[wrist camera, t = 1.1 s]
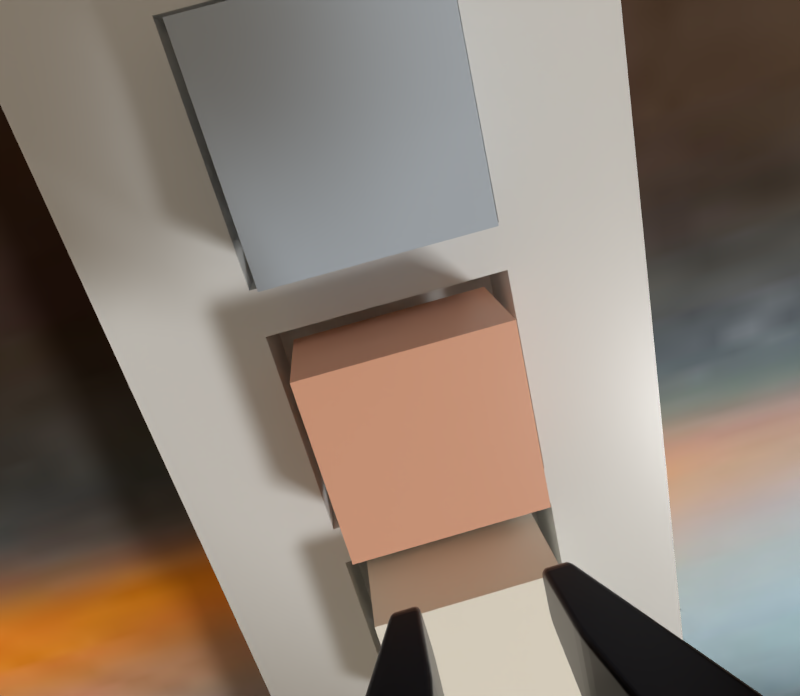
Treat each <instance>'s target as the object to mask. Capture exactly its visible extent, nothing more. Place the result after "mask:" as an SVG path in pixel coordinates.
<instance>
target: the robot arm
mask: <svg viewBox="0 0 800 696" xmlns="http://www.w3.org/2000/svg"><path fill="white" fill-rule="evenodd" d="M542 576H543V581H544V586H545V591H546V596H547V601H548V606H549V611H550V615H551V619H552V622H553V625H554V627H555V630H556V633H557V635H558V638H559V640H560V643H561V645H562V648H563V650H564V653H565V655H566V658H567V660H568V663H569V665H570V668H571V670H572V673H573V675H574V678H575V680H576V683H577V685H578V688H579V690H580V693H581V695H582V696H763V695H761V694H760V693H758V692H757V691H756V690H754V689H753V688H751V687H750V686H748V685H747V684H745V683H744V682H743V681H741V680H740V679H738V678H737V677H735V676H734V675H732V674H731V673H730V672H728V671H727V670H725V669H724V668H722V667H721V666H719V665H718V664H717V663H715V662H714V661H712V660H711V659H709V658H708V657H707V656H705V655H704V654H702V653H701V652H699V651H698V650H696V649H695V648H694V647H692V646H691V645H689V644H688V643H686V642H685V641H683V640H682V639H681V638H679V637H678V636H676V635H675V634H673V633H672V632H670V631H669V630H668V629H666V628H665V627H663V626H662V625H660V624H659V623H657V622H656V621H655V620H653V619H652V618H650V617H649V616H647V615H646V614H645V613H643V612H642V611H640V610H639V609H637V608H636V607H634V606H633V605H632V604H630V603H629V602H627V601H626V600H624V599H623V598H621V597H620V596H619V595H617V594H616V593H614V592H613V591H611V590H610V589H608V588H607V587H606V586H604V585H603V584H601V583H600V582H598V581H597V580H595V579H594V578H593V577H591V576H590V575H588V574H587V573H585V572H584V571H582V570H581V569H580V568H578V567H577V566H575V565H574V564H572V563H569V562H565V563H561V564H558V565H554V566H551V567H547V568H545V569H544V570H543V573H542ZM365 696H444V693H443V688H442V684H441V680H440V676H439V672H438V668H437V664H436V660H435V656H434V652H433V649H432V645H431V642H430V639H429V636H428V632H427V629H426V626H425V623H424V619H423V616H422V613H421V610H420V609H419V608H418V607H411V608H408V609H404V610H401V611H398V612H395V613H393V614H392V615H391V616H390V619H389V622H388V625H387V628H386V631H385V634H384V638H383V641H382V644H381V647H380V650H379V654H378V657H377V660H376V663H375V666H374V670H373V673H372V676H371V679H370V682H369V686H368V689H367V692H366V695H365Z"/></svg>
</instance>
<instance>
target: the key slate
mask: <svg viewBox="0 0 800 696" xmlns="http://www.w3.org/2000/svg"><path fill="white" fill-rule="evenodd" d="M163 20H164V23H165V26H166V29H167V32H168V35H169V38H170V40H171V43H172V46H173V49H174V52H175V55H176V58H177V61H178V63H179V66H180V69H181V72H182V75H183V78H184V81H185V84H186V86H187V89H188V92H189V95H190V98H191V101H192V104H193V107H194V109H195V112H196V115H197V118H198V121H199V124H200V127H201V130H202V132H203V135H204V138H205V141H206V144H207V147H208V150H209V153H210V155H211V158H212V161H213V164H214V167H215V170H216V173H217V176H218V178H219V181H220V184H221V187H222V190H223V193H224V196H225V199H226V201H227V204H228V207H229V210H230V213H231V216H232V219H233V222H234V224H235V227H236V230H237V233H238V236H239V239H240V242H241V245H242V247H243V250H244V253H245V256H246V259H247V262H248V265H249V268H250V270H251V273H252V276H253V279H254V282H255V285H256V288H257V291H258V292H260V291H264V290H268V289H271V288H275V287H279V286H282V285H286V284H290V283H293V282H297V281H300V280H304V279H308V278H311V277H315V276H319V275H322V274H326V273H330V272H333V271H337V270H340V269H344V268H348V267H351V266H355V265H359V264H362V263H366V262H370V261H373V260H377V259H380V258H384V257H388V256H391V255H395V254H399V253H402V252H406V251H410V250H413V249H417V248H420V247H424V246H428V245H431V244H435V243H439V242H442V241H446V240H450V239H453V238H457V237H461V236H464V235H468V234H471V233H475V232H479V231H482V230H486V229H490V228H493V227H497V226H499V225H498V220H497V214H496V209H495V204H494V198H493V193H492V187H491V182H490V177H489V171H488V166H487V160H486V155H485V150H484V144H483V139H482V134H481V128H480V123H479V117H478V112H477V107H476V101H475V96H474V91H473V85H472V80H471V74H470V69H469V64H468V58H467V53H466V47H465V42H464V37H463V31H462V26H461V21H460V15H459V10H458V4H457V0H227V1H223V2H219V3H215V4H212V5H208V6H204V7H200V8H196V9H192V10H188V11H185V12H181V13H177V14H173V15H169V16H165V17H163Z"/></svg>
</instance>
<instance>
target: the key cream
mask: <svg viewBox="0 0 800 696" xmlns="http://www.w3.org/2000/svg"><path fill="white" fill-rule="evenodd" d="M554 565H558V562H557V560H556V558H555V556H554V555H553V553H552V551H551V549H550V547H549V545H548V543H547V542H546V540H545V538H544V536H543V534H542V532H541V531H540V529H539V527H538V525H537V523H536V521H535V519H534V518H533V516H532V514H531V513H529V514H526V515H523V516H519V517H516V518H512V519H509V520H505V521H502V522H498V523H495V524H492V525H488V526H485V527H481V528H478V529H474V530H471V531H467V532H464V533H461V534H457V535H454V536H450V537H447V538H443V539H440V540H436V541H433V542H430V543H426V544H423V545H419V546H416V547H412V548H409V549H405V550H402V551H399V552H395V553H392V554H388V555H385V556H381V557H378V558H374V559H371V560H368V561H367V567H368V575H369V584H370V592H371V601H372V609H373V618H374V626H375V630H376V633H377V636H378V638H379V641H380V644H382V641H383V638H384V634H385V631H386V628H387V625H388V622H389V619H390V616H391V615H392V614H393V613H395V612H398V611H401V610H404V609H408V608H411V607H418V608H419V609H420V610H421V613H422V616H423V619H424V623H425V626H426V629H427V632H428V636H429V639H430V642H431V645H432V649H433V652H434V656H435V660H436V664H437V668H438V672H439V676H440V680H441V684H442V688H443V693H444V696H582V695H581V693H580V690H579V688H578V685H577V683H576V680H575V678H574V675H573V673H572V670H571V668H570V665H569V663H568V660H567V658H566V655H565V653H564V650H563V648H562V645H561V643H560V640H559V638H558V635H557V633H556V630H555V627H554V625H553V622H552V619H551V615H550V611H549V606H548V601H547V596H546V591H545V586H544V581H543V576H542V573H543V570H544V569H545V568H547V567H551V566H554Z"/></svg>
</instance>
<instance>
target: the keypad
mask: <svg viewBox="0 0 800 696" xmlns="http://www.w3.org/2000/svg"><path fill="white" fill-rule="evenodd" d="M223 1H227V0H0V105H1V107H2V110H3V112H4V114H5V116H6V118H7V120H8V123H9V125H10V127H11V129H12V131H13V134H14V136H15V138H16V140H17V142H18V144H19V147H20V149H21V151H22V153H23V155H24V158H25V160H26V162H27V164H28V166H29V168H30V171H31V173H32V175H33V177H34V179H35V182H36V184H37V186H38V188H39V190H40V193H41V195H42V197H43V199H44V201H45V203H46V206H47V208H48V210H49V212H50V214H51V217H52V219H53V221H54V223H55V225H56V227H57V230H58V232H59V234H60V236H61V238H62V241H63V243H64V245H65V247H66V249H67V251H68V254H69V256H70V258H71V260H72V262H73V265H74V267H75V269H76V271H77V273H78V275H79V278H80V280H81V282H82V284H83V286H84V289H85V291H86V293H87V295H88V297H89V300H90V302H91V304H92V306H93V308H94V310H95V313H96V315H97V317H98V319H99V321H100V324H101V326H102V328H103V330H104V332H105V334H106V337H107V339H108V341H109V343H110V345H111V348H112V350H113V352H114V354H115V356H116V358H117V361H118V363H119V365H120V367H121V369H122V372H123V374H124V376H125V378H126V380H127V383H128V385H129V387H130V389H131V391H132V393H133V396H134V398H135V400H136V402H137V404H138V407H139V409H140V411H141V413H142V415H143V417H144V420H145V422H146V424H147V426H148V428H149V431H150V433H151V435H152V437H153V439H154V441H155V444H156V446H157V448H158V450H159V452H160V455H161V457H162V459H163V461H164V463H165V465H166V468H167V470H168V472H169V474H170V476H171V479H172V481H173V483H174V485H175V487H176V490H177V492H178V494H179V496H180V498H181V500H182V503H183V505H184V507H185V509H186V511H187V514H188V516H189V518H190V520H191V522H192V524H193V527H194V529H195V531H196V533H197V535H198V538H199V540H200V542H201V544H202V546H203V548H204V551H205V553H206V555H207V557H208V559H209V562H210V564H211V566H212V568H213V570H214V572H215V575H216V577H217V579H218V581H219V583H220V586H221V588H222V590H223V592H224V594H225V597H226V599H227V601H228V603H229V605H230V607H231V610H232V612H233V614H234V616H235V618H236V621H237V623H238V625H239V627H240V629H241V631H242V634H243V636H244V638H245V640H246V642H247V645H248V647H249V649H250V651H251V653H252V655H253V658H254V660H255V662H256V664H257V666H258V669H259V671H260V673H261V675H262V677H263V679H264V682H265V684H266V686H267V688H268V690H269V693H270V695H271V696H365V695H366V692H367V689H368V686H369V682H370V679H371V676H372V673H373V670H374V666H375V663H376V660H377V657H378V654H379V650H380V647H381V644H380V641H379V638H378V636H377V633H376V630H375V626H374V618H373V609H372V601H371V592H370V584H369V575H368V567H367V561H364V562H361V563H357V564H354V565H353V564H352V561H351V558H350V555H349V552H348V549H347V546H346V544H345V541H344V538H343V535H342V532H341V529H340V526H339V523H338V521H337V518H336V515H335V512H334V509H333V506H332V503H331V500H330V498H329V495H328V492H327V489H326V486H325V483H324V480H323V477H322V475H321V472H320V469H319V466H318V463H317V460H316V457H315V454H314V452H313V449H312V446H311V443H310V440H309V437H308V434H307V431H306V429H305V426H304V423H303V420H302V417H301V414H300V411H299V408H298V406H297V403H296V400H295V397H294V394H293V391H292V388H291V385H290V374H291V363H292V352H293V341H294V339H298V338H301V337H305V336H308V335H312V334H316V333H319V332H323V331H326V330H330V329H334V328H337V327H341V326H344V325H348V324H352V323H355V322H359V321H362V320H366V319H370V318H373V317H377V316H380V315H384V314H388V313H391V312H395V311H398V310H402V309H406V308H409V307H413V306H416V305H420V304H424V303H427V302H431V301H434V300H438V299H442V298H445V297H449V296H452V295H456V294H460V293H463V292H467V291H470V290H474V289H478V288H481V287H485V288H486V289H487V290H488V291H489V292H490V293H491V294H492V295H493V296H494V298H495V299H496V300H497V301H498V302H499V303H500V304H501V305H502V306H503V307H504V308H505V309H506V310H507V311H508V312H509V313H510V314H511V315H512V316H513V317H514V318H515V319H516V322H517V327H518V333H519V338H520V343H521V349H522V354H523V360H524V365H525V370H526V376H527V381H528V386H529V392H530V397H531V403H532V408H533V413H534V419H535V424H536V430H537V435H538V440H539V446H540V451H541V456H542V462H543V467H544V473H545V478H546V483H547V489H548V494H549V499H550V505H551V507H550V508H547V509H543V510H540V511H536V512H533V513H531V514H532V516H533V518H534V519H535V521H536V523H537V525H538V527H539V529H540V531H541V532H542V534H543V536H544V538H545V540H546V542H547V543H548V545H549V547H550V549H551V551H552V553H553V555H554V556H555V558H556V560H557V562H558V564H561V563H565V562H569V563H572V564H574V565H575V566H577V567H578V568H580V569H581V570H582V571H584V572H585V573H587V574H588V575H590V576H591V577H593V578H594V579H595V580H597V581H598V582H600V583H601V584H603V585H604V586H606V587H607V588H608V589H610V590H611V591H613V592H614V593H616V594H617V595H619V596H620V597H621V598H623V599H624V600H626V601H627V602H629V603H630V604H632V605H633V606H634V607H636V608H637V609H639V610H640V611H642V612H643V613H645V614H646V615H647V616H649V617H650V618H652V619H653V620H655V621H656V622H657V623H659V624H660V625H662V626H663V627H665V628H666V629H668V630H669V631H670V632H672V633H673V634H675V635H676V636H678V637H679V638H681V639H682V640H683V636H682V625H681V615H680V605H679V595H678V584H677V574H676V564H675V554H674V543H673V533H672V523H671V513H670V502H669V492H668V482H667V471H666V461H665V451H664V441H663V430H662V420H661V410H660V400H659V389H658V379H657V369H656V359H655V348H654V338H653V328H652V317H651V307H650V297H649V287H648V276H647V266H646V256H645V246H644V235H643V225H642V215H641V204H640V194H639V184H638V174H637V163H636V153H635V143H634V133H633V122H632V112H631V102H630V92H629V81H628V71H627V61H626V50H625V40H624V30H623V20H622V9H621V0H457V4H458V10H459V15H460V21H461V26H462V31H463V37H464V42H465V47H466V53H467V58H468V64H469V69H470V74H471V80H472V85H473V91H474V96H475V101H476V107H477V112H478V117H479V123H480V128H481V134H482V139H483V144H484V150H485V155H486V160H487V166H488V171H489V177H490V182H491V187H492V193H493V198H494V204H495V209H496V214H497V220H498V225H499V226H497V227H493V228H490V229H486V230H482V231H479V232H475V233H471V234H468V235H464V236H461V237H457V238H453V239H450V240H446V241H442V242H439V243H435V244H431V245H428V246H424V247H420V248H417V249H413V250H410V251H406V252H402V253H399V254H395V255H391V256H388V257H384V258H380V259H377V260H373V261H370V262H366V263H362V264H359V265H355V266H351V267H348V268H344V269H340V270H337V271H333V272H330V273H326V274H322V275H319V276H315V277H311V278H308V279H304V280H300V281H297V282H293V283H290V284H286V285H282V286H279V287H275V288H271V289H268V290H264V291H260V292H258V291H257V288H256V285H255V282H254V279H253V276H252V273H251V270H250V268H249V265H248V262H247V259H246V256H245V253H244V250H243V247H242V245H241V242H240V239H239V236H238V233H237V230H236V227H235V224H234V222H233V219H232V216H231V213H230V210H229V207H228V204H227V201H226V199H225V196H224V193H223V190H222V187H221V184H220V181H219V178H218V176H217V173H216V170H215V167H214V164H213V161H212V158H211V155H210V153H209V150H208V147H207V144H206V141H205V138H204V135H203V132H202V130H201V127H200V124H199V121H198V118H197V115H196V112H195V109H194V107H193V104H192V101H191V98H190V95H189V92H188V89H187V86H186V84H185V81H184V78H183V75H182V72H181V69H180V66H179V63H178V61H177V58H176V55H175V52H174V49H173V46H172V43H171V40H170V38H169V35H168V32H167V29H166V26H165V23H164V20H163V17H165V16H169V15H173V14H177V13H181V12H185V11H188V10H192V9H196V8H200V7H204V6H208V5H212V4H215V3H219V2H223Z"/></svg>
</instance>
